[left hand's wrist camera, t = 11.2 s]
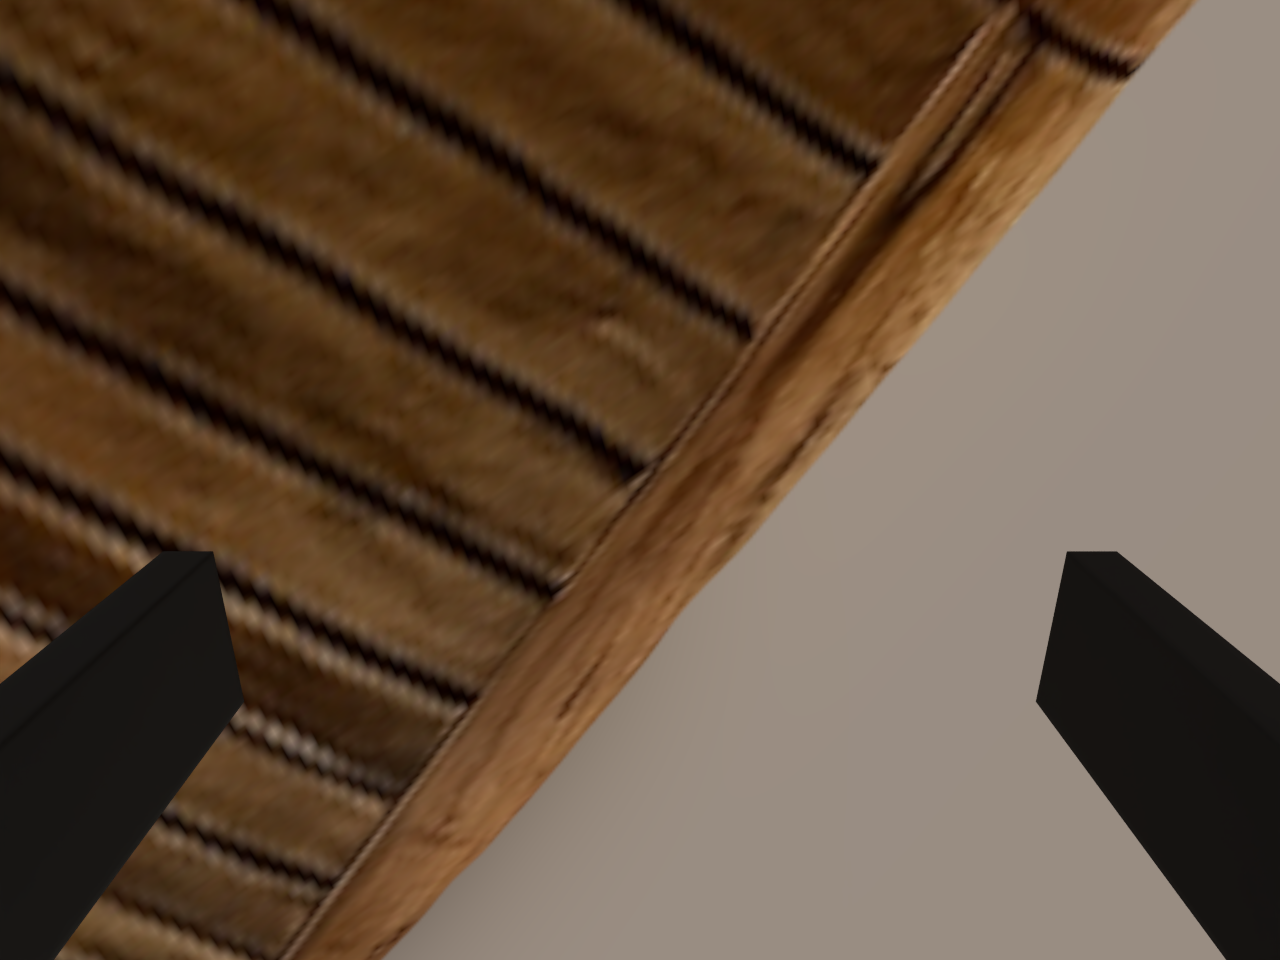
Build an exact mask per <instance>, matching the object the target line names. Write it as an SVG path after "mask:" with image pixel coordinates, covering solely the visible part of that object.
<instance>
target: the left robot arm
mask: <svg viewBox="0 0 1280 960" xmlns="http://www.w3.org/2000/svg"><path fill="white" fill-rule="evenodd" d="M243 702H244V699H243V694H242V689H241V685H240V680H239V675H238V670H237V665H236V660H235V655H234V651H233V646H232V641H231V636H230V631H229V626H228V622H227V617H226V612H225V607H224V602H223V597H222V593H221V588H220V583H219V578H218V573H217V568H216V564H215V559H214V554H213V552H162V553H161V554H160V555H158V556H157V557H156V558H155V559H153V560H152V561H151V562H150V563H148V564H147V565H146V566H145V567H143V568H142V569H141V570H140V571H139V572H137V573H136V574H135V575H134V576H132V577H131V578H130V579H129V580H127V581H126V582H125V583H124V584H123V585H121V586H120V587H119V588H118V589H116V590H115V591H114V592H113V593H111V594H110V595H109V596H108V597H107V598H105V599H104V600H103V601H102V602H100V603H99V604H98V605H97V606H95V607H94V608H93V609H92V610H91V611H89V612H88V613H87V614H86V615H84V616H83V617H82V618H81V619H79V620H78V621H77V622H76V623H75V624H73V625H72V626H71V627H70V628H68V629H67V630H66V631H65V632H63V633H62V634H61V635H60V636H59V637H57V638H56V639H55V640H54V641H52V642H51V643H50V644H49V645H47V646H46V647H45V648H44V649H43V650H41V651H40V652H39V653H38V654H36V655H35V656H34V657H33V658H31V659H30V660H29V661H28V662H27V663H25V664H24V665H23V666H22V667H20V668H19V669H18V670H17V671H15V672H14V673H13V674H12V675H10V676H9V677H8V678H7V679H6V680H4V681H3V682H2V683H1V684H0V960H54V959H55V957H56V956H57V955H58V953H59V952H60V951H61V949H62V948H63V947H64V945H65V944H66V942H67V941H68V940H69V938H70V937H71V936H72V934H73V933H74V932H75V930H76V929H77V928H78V926H79V925H80V923H81V922H82V921H83V919H84V918H85V917H86V915H87V914H88V913H89V911H90V910H91V909H92V907H93V906H94V904H95V903H96V902H97V900H98V899H99V898H100V896H101V895H102V894H103V892H104V891H105V890H106V888H107V887H108V885H109V884H110V883H111V881H112V880H113V879H114V877H115V876H116V875H117V873H118V872H119V871H120V869H121V868H122V867H123V865H124V864H125V862H126V861H127V860H128V858H129V857H130V856H131V854H132V853H133V852H134V850H135V849H136V848H137V846H138V845H139V843H140V842H141V841H142V839H143V838H144V837H145V835H146V834H147V833H148V831H149V830H150V829H151V827H152V826H153V824H154V823H155V822H156V820H157V819H158V818H159V816H160V815H161V814H162V812H163V811H164V810H165V808H166V807H167V805H168V804H169V803H170V801H171V800H172V799H173V797H174V796H175V795H176V793H177V792H178V791H179V789H180V788H181V786H182V785H183V784H184V782H185V781H186V780H187V778H188V777H189V776H190V774H191V773H192V772H193V770H194V769H195V767H196V766H197V765H198V763H199V762H200V761H201V759H202V758H203V757H204V755H205V754H206V753H207V751H208V750H209V748H210V747H211V746H212V744H213V743H214V742H215V740H216V739H217V738H218V736H219V735H220V734H221V732H222V731H223V729H224V728H225V727H226V725H227V724H228V723H229V721H230V720H231V719H232V717H233V716H234V715H235V713H236V712H237V710H238V709H239V708H240V706H241V705H242V704H243ZM1036 702H1037V704H1038V705H1039V706H1040V708H1041V709H1042V710H1043V712H1044V713H1045V715H1046V716H1047V717H1048V719H1049V720H1050V721H1051V723H1052V724H1053V725H1054V727H1055V728H1056V729H1057V731H1058V732H1059V733H1060V735H1061V736H1062V738H1063V739H1064V740H1065V742H1066V743H1067V744H1068V746H1069V747H1070V748H1071V750H1072V751H1073V753H1074V754H1075V755H1076V757H1077V758H1078V759H1079V761H1080V762H1081V763H1082V765H1083V766H1084V767H1085V769H1086V770H1087V771H1088V773H1089V774H1090V776H1091V777H1092V778H1093V780H1094V781H1095V782H1096V784H1097V785H1098V786H1099V788H1100V789H1101V791H1102V792H1103V793H1104V795H1105V796H1106V797H1107V799H1108V800H1109V801H1110V803H1111V804H1112V805H1113V807H1114V808H1115V810H1116V811H1117V812H1118V814H1119V815H1120V816H1121V818H1122V819H1123V820H1124V822H1125V823H1126V824H1127V826H1128V827H1129V828H1130V830H1131V831H1132V833H1133V834H1134V835H1135V837H1136V838H1137V839H1138V841H1139V842H1140V843H1141V845H1142V846H1143V848H1144V849H1145V850H1146V852H1147V853H1148V854H1149V856H1150V857H1151V858H1152V860H1153V861H1154V862H1155V864H1156V865H1157V867H1158V868H1159V869H1160V871H1161V872H1162V873H1163V875H1164V876H1165V877H1166V879H1167V880H1168V881H1169V883H1170V884H1171V885H1172V887H1173V888H1174V890H1175V891H1176V892H1177V894H1178V895H1179V896H1180V898H1181V899H1182V900H1183V902H1184V903H1185V904H1186V906H1187V907H1188V909H1189V910H1190V911H1191V913H1192V914H1193V915H1194V917H1195V918H1196V919H1197V921H1198V922H1199V923H1200V925H1201V926H1202V928H1203V929H1204V930H1205V932H1206V933H1207V934H1208V936H1209V937H1210V938H1211V940H1212V941H1213V942H1214V944H1215V945H1216V947H1217V948H1218V949H1219V951H1220V952H1221V953H1222V955H1223V956H1224V957H1225V959H1226V960H1280V684H1279V683H1278V682H1277V681H1276V680H1274V679H1273V678H1272V677H1271V676H1269V675H1268V674H1267V673H1266V672H1265V671H1263V670H1262V669H1261V668H1260V667H1258V666H1257V665H1256V664H1255V663H1253V662H1252V661H1251V660H1250V659H1249V658H1247V657H1246V656H1245V655H1244V654H1242V653H1241V652H1240V651H1239V650H1237V649H1236V648H1235V647H1234V646H1233V645H1231V644H1230V643H1229V642H1228V641H1226V640H1225V639H1224V638H1223V637H1221V636H1220V635H1219V634H1218V633H1216V632H1215V631H1214V630H1213V629H1212V628H1210V627H1209V626H1208V625H1207V624H1205V623H1204V622H1203V621H1202V620H1201V619H1199V618H1198V617H1197V616H1196V615H1194V614H1193V613H1192V612H1191V611H1189V610H1188V609H1187V608H1186V607H1185V606H1183V605H1182V604H1181V603H1180V602H1178V601H1177V600H1176V599H1175V598H1173V597H1172V596H1171V595H1170V594H1169V593H1167V592H1166V591H1165V590H1164V589H1162V588H1161V587H1160V586H1159V585H1157V584H1156V583H1155V582H1154V581H1153V580H1151V579H1150V578H1149V577H1148V576H1146V575H1145V574H1144V573H1143V572H1141V571H1140V570H1139V569H1138V568H1136V567H1135V566H1134V565H1133V564H1132V563H1130V562H1129V561H1128V560H1127V559H1125V558H1124V557H1123V556H1122V555H1120V554H1119V553H1118V552H1067V554H1066V559H1065V564H1064V569H1063V573H1062V578H1061V583H1060V588H1059V593H1058V598H1057V602H1056V607H1055V612H1054V617H1053V622H1052V627H1051V631H1050V636H1049V641H1048V646H1047V651H1046V656H1045V661H1044V665H1043V670H1042V675H1041V680H1040V685H1039V689H1038V694H1037V699H1036Z"/></svg>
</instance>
